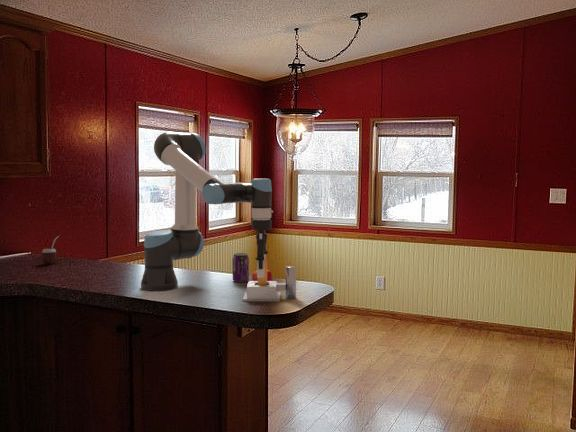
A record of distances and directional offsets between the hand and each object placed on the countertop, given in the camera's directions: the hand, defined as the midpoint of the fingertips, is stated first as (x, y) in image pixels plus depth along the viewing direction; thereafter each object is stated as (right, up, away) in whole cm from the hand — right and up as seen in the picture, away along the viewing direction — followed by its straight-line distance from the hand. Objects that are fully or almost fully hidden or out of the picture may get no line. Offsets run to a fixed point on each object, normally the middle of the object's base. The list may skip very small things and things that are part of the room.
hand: (261, 274), depth 231 cm
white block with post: (+3, -9, +1) cm, 10 cm away
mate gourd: (-112, -3, +79) cm, 137 cm away
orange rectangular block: (0, -8, +1) cm, 8 cm away
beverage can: (-11, -7, +34) cm, 36 cm away
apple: (-1, -8, +20) cm, 21 cm away
